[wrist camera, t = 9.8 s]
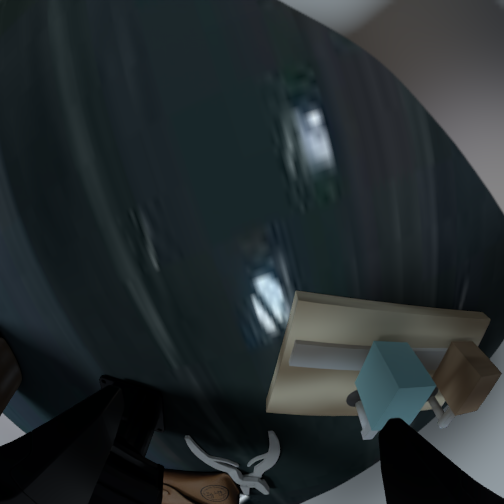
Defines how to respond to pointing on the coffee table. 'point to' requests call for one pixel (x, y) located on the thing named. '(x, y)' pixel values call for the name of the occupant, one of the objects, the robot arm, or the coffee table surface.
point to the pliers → (252, 478)
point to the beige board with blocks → (358, 346)
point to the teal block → (391, 386)
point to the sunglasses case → (199, 488)
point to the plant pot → (8, 374)
